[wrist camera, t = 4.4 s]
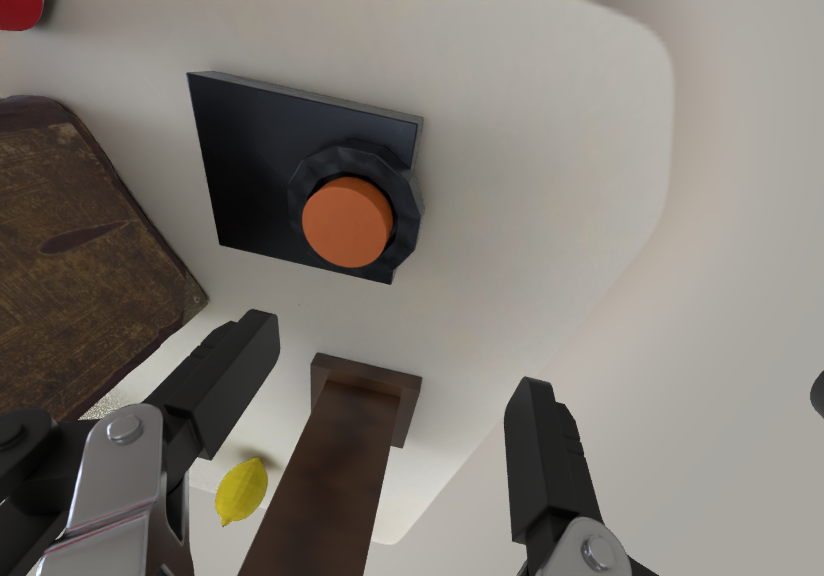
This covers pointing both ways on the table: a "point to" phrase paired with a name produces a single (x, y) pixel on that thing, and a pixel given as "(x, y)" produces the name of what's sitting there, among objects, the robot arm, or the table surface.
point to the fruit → (241, 491)
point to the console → (301, 165)
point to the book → (75, 267)
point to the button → (348, 222)
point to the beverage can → (20, 14)
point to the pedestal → (334, 472)
